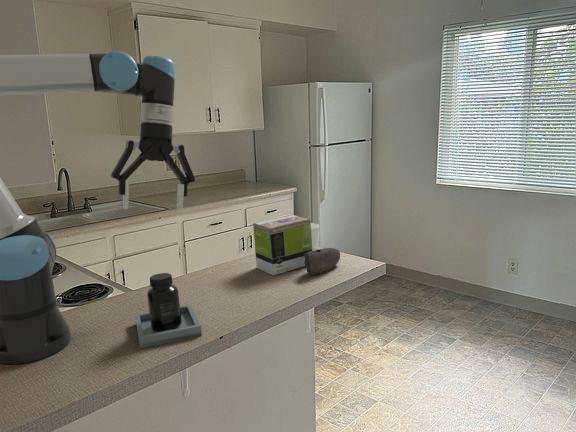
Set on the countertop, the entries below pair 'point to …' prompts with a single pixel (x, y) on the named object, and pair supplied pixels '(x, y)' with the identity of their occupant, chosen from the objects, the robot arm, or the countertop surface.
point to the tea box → (282, 243)
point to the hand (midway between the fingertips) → (153, 209)
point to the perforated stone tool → (321, 260)
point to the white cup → (315, 236)
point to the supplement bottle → (163, 303)
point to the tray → (184, 331)
